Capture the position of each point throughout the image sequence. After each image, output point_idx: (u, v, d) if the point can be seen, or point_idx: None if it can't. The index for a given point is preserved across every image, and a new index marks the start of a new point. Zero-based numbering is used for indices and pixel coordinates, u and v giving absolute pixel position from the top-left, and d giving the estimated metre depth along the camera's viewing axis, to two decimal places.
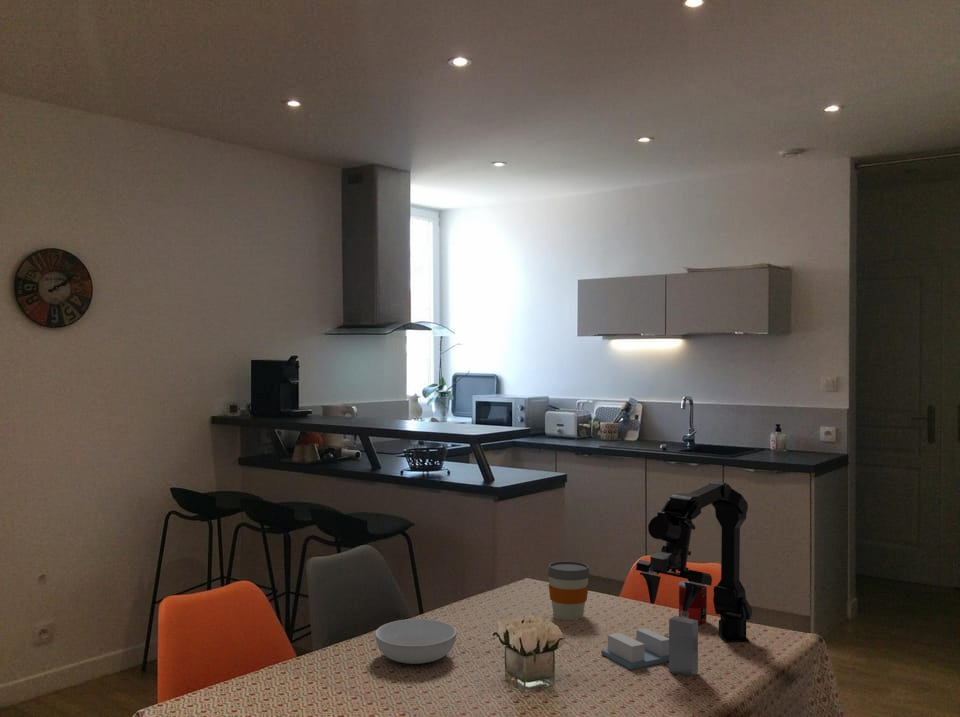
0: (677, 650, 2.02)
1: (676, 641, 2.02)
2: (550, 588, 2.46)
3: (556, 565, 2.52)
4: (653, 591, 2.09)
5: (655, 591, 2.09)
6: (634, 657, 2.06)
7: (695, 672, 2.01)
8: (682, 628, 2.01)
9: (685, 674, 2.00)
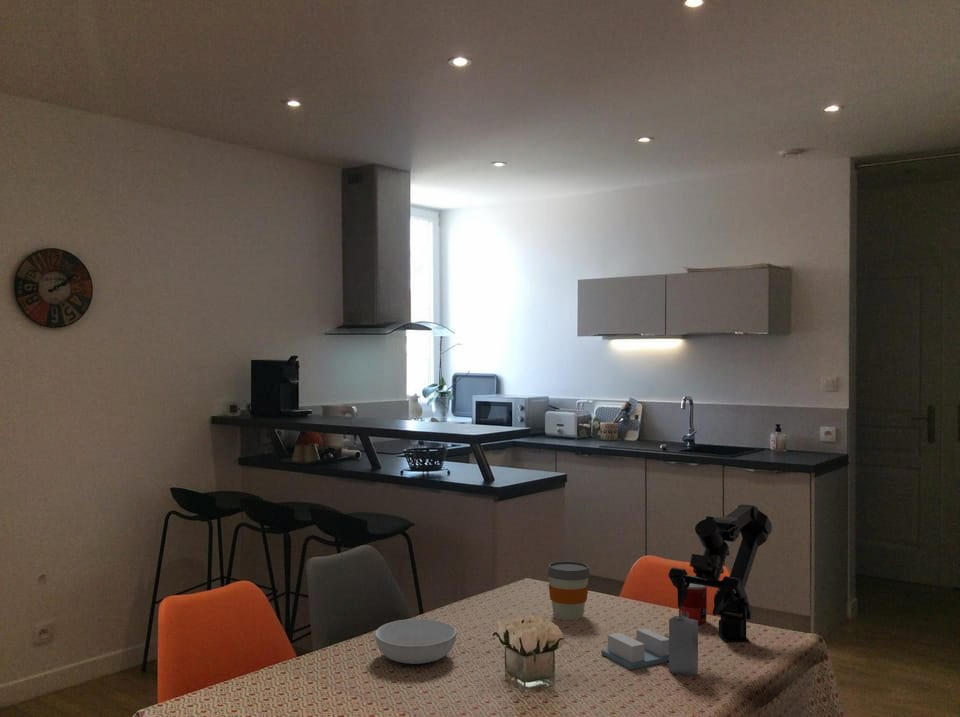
0: (677, 650, 2.02)
1: (676, 641, 2.02)
2: (550, 588, 2.46)
3: (556, 565, 2.52)
4: (682, 597, 2.13)
5: (683, 598, 2.14)
6: (634, 657, 2.06)
7: (695, 672, 2.01)
8: (682, 628, 2.01)
9: (685, 674, 2.00)
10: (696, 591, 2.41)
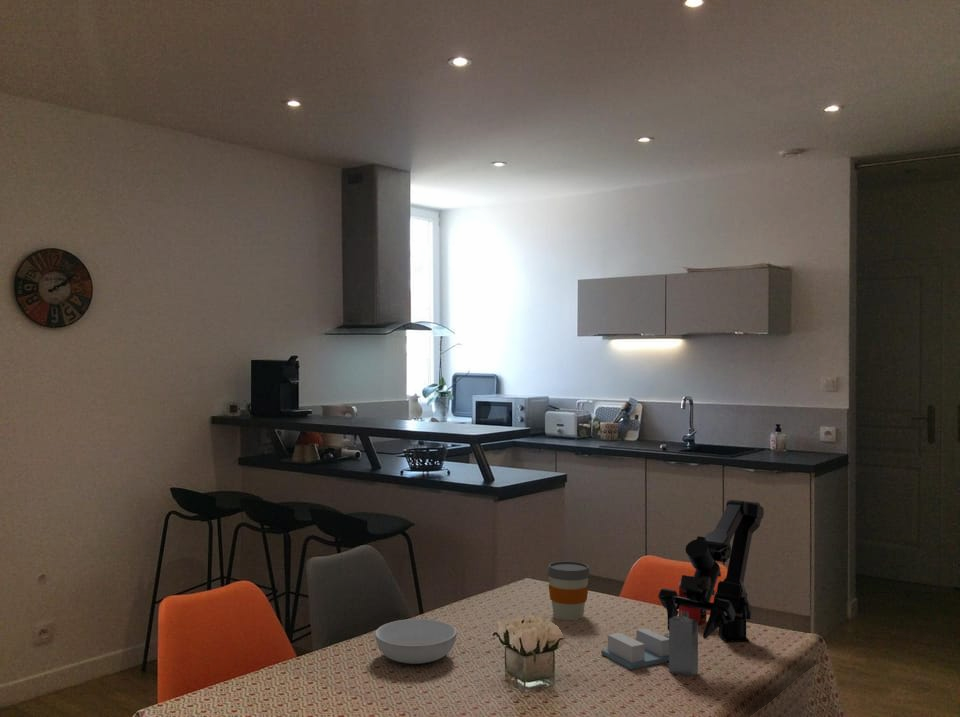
0: (677, 650, 2.02)
1: (676, 641, 2.02)
2: (550, 588, 2.46)
3: (556, 565, 2.52)
4: None
5: None
6: (634, 657, 2.06)
7: (695, 672, 2.01)
8: (682, 628, 2.01)
9: (685, 674, 2.00)
10: None
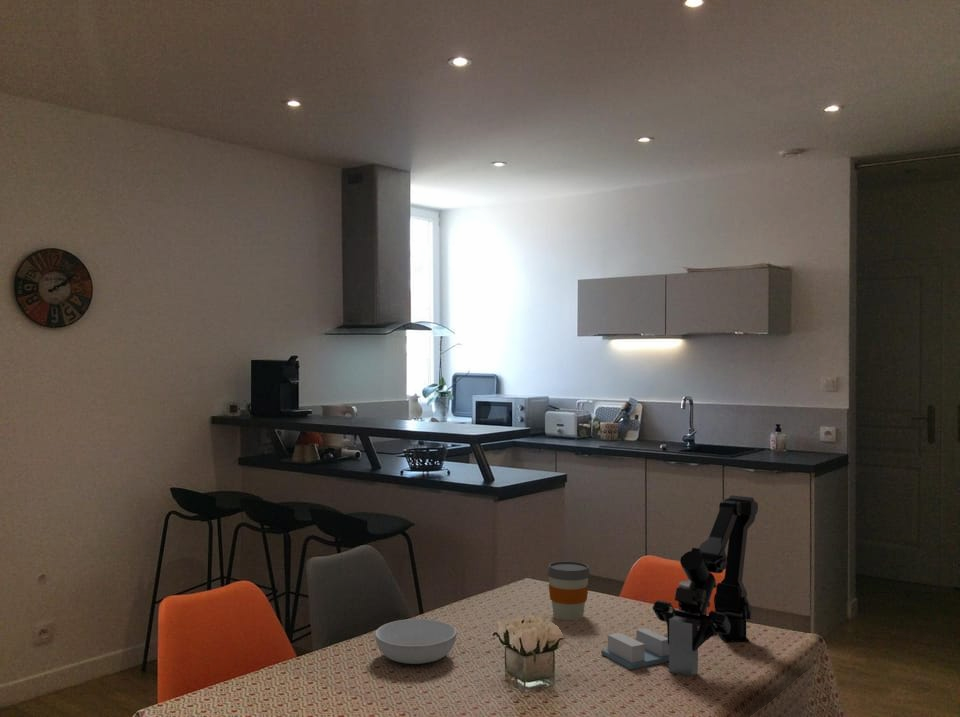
0: (677, 650, 2.02)
1: (676, 641, 2.02)
2: (550, 588, 2.46)
3: (556, 565, 2.52)
4: None
5: None
6: (634, 657, 2.06)
7: (695, 672, 2.01)
8: (682, 628, 2.01)
9: (685, 674, 2.00)
10: None
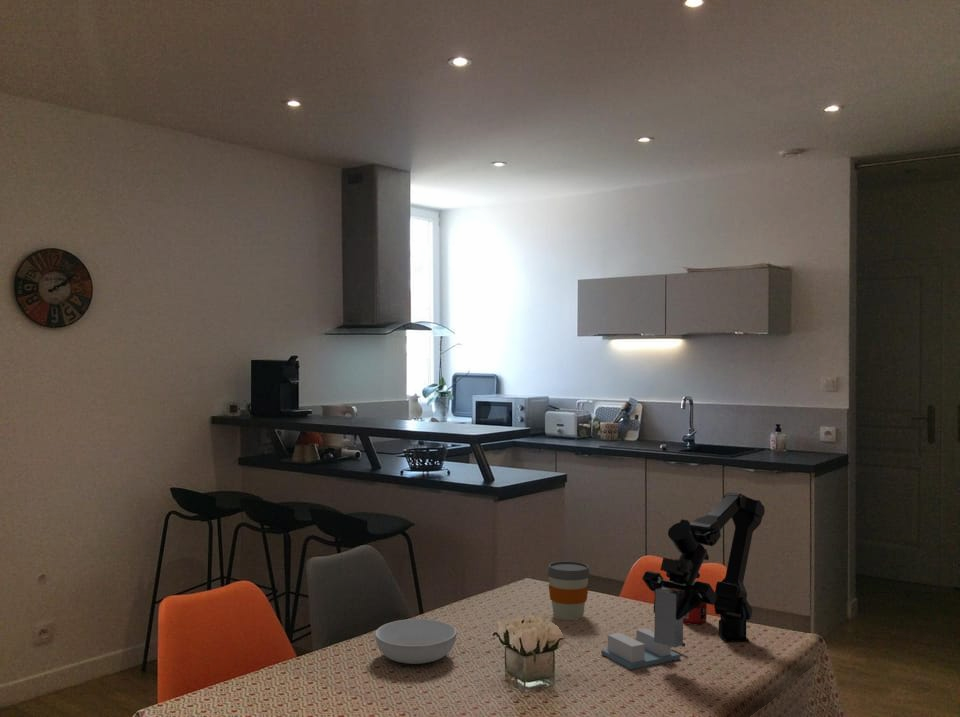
0: (662, 620, 2.05)
1: (661, 612, 2.05)
2: (550, 588, 2.46)
3: (556, 565, 2.52)
4: None
5: None
6: (634, 657, 2.06)
7: (679, 643, 2.04)
8: (667, 598, 2.04)
9: (669, 644, 2.03)
10: None
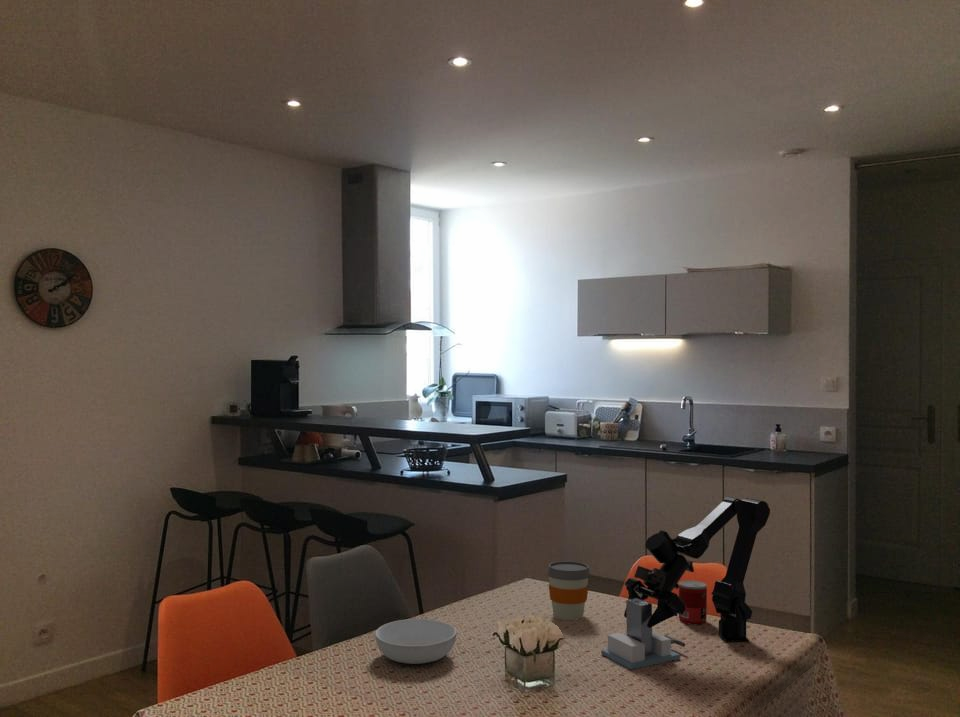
0: (632, 629, 2.13)
1: (631, 622, 2.13)
2: (550, 588, 2.46)
3: (556, 565, 2.52)
4: None
5: None
6: (634, 657, 2.06)
7: (648, 653, 2.11)
8: (634, 609, 2.12)
9: None
10: (696, 591, 2.41)
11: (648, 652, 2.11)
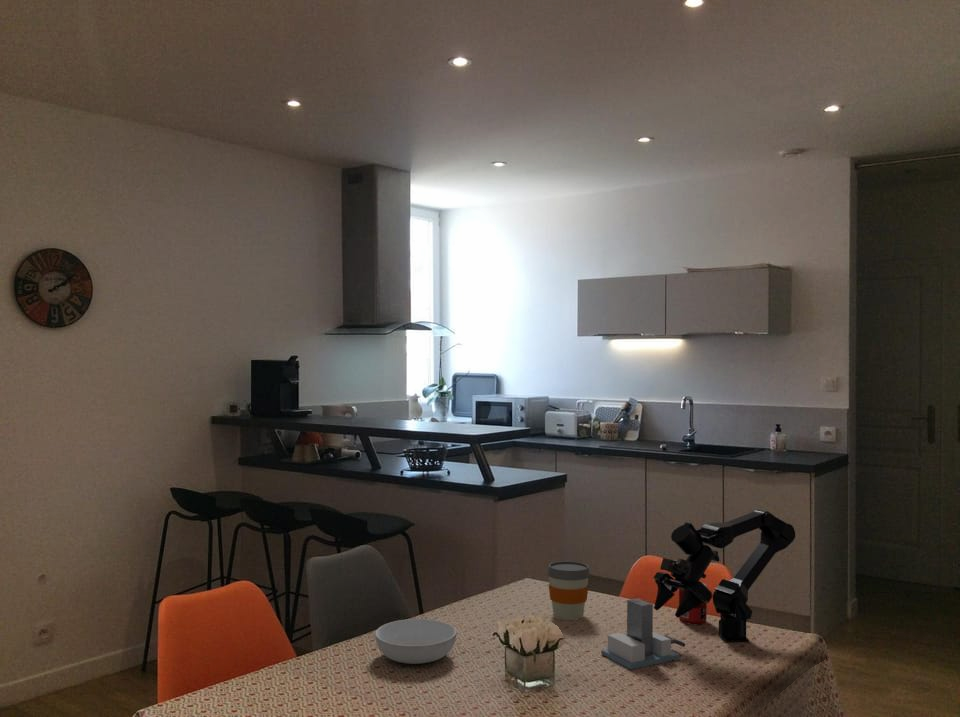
0: (632, 629, 2.13)
1: (631, 622, 2.13)
2: (550, 588, 2.46)
3: (556, 565, 2.52)
4: (660, 599, 2.23)
5: (663, 601, 2.23)
6: (634, 657, 2.06)
7: (648, 653, 2.11)
8: (635, 609, 2.12)
9: None
10: None
11: (648, 652, 2.11)
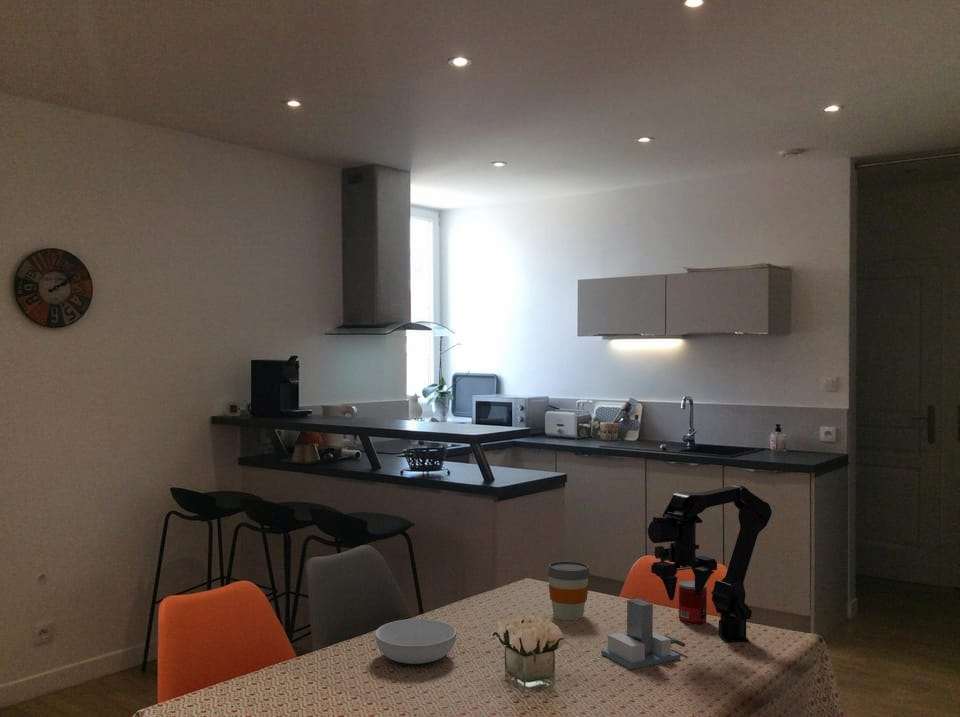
0: (632, 629, 2.13)
1: (631, 622, 2.13)
2: (550, 588, 2.46)
3: (556, 565, 2.52)
4: (696, 584, 2.24)
5: (699, 585, 2.23)
6: (634, 657, 2.06)
7: (648, 653, 2.11)
8: (635, 609, 2.12)
9: None
10: None
11: (648, 652, 2.11)
